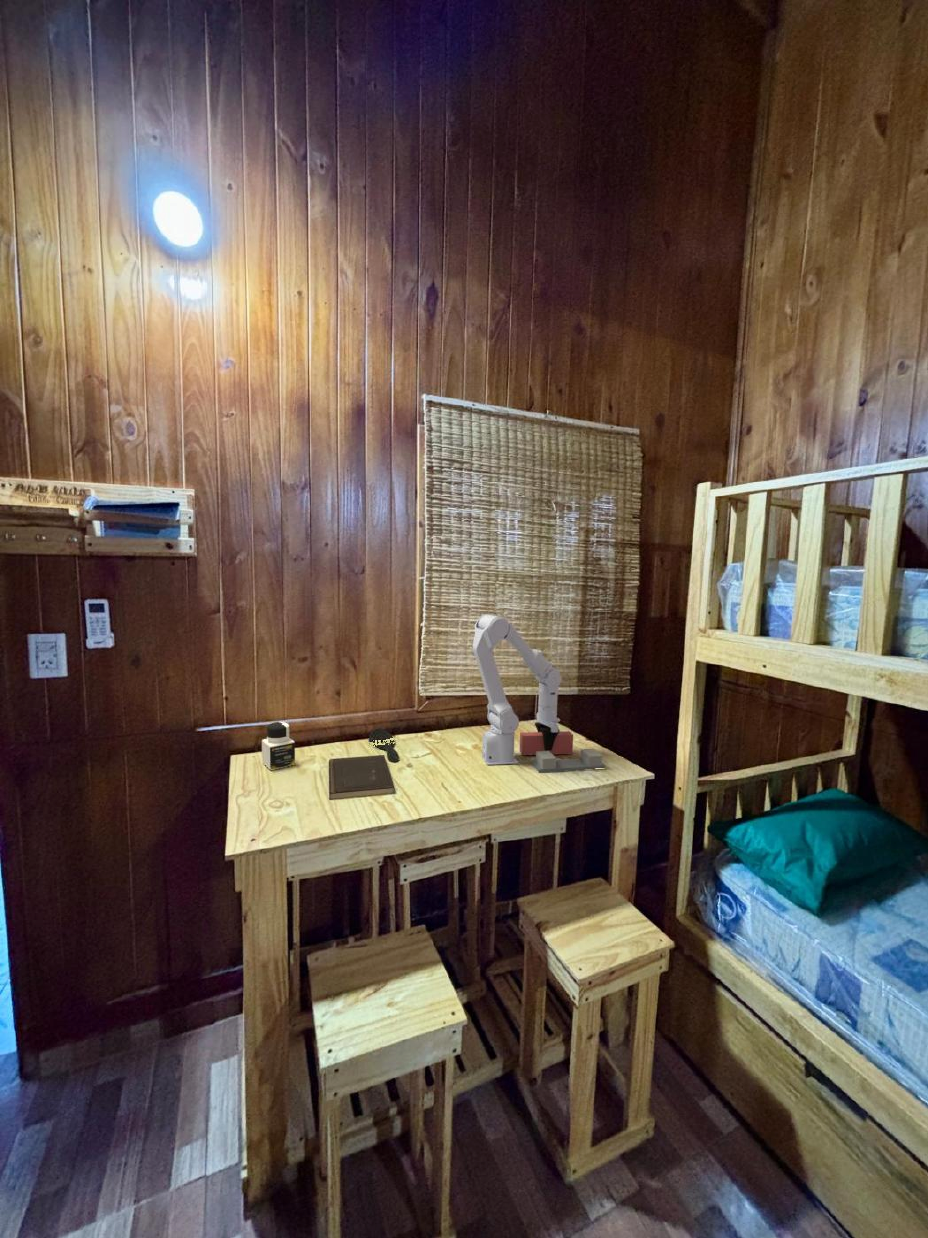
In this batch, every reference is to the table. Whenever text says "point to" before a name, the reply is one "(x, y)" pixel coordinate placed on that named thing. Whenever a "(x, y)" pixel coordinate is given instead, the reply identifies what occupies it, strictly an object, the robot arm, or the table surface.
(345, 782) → the hardcover book
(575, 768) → the display rack
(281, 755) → the medicine bottle
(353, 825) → the table surface
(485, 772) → the table surface
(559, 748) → the frame bar
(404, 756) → the table surface
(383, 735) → the hairbrush
